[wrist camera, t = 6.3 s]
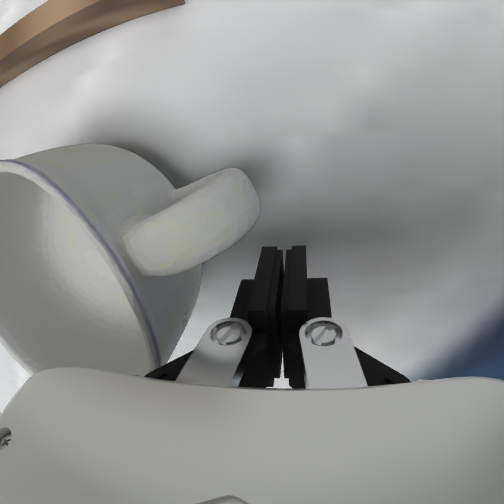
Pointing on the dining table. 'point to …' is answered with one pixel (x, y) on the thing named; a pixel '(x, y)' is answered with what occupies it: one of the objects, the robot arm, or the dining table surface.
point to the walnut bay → (65, 28)
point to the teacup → (107, 255)
